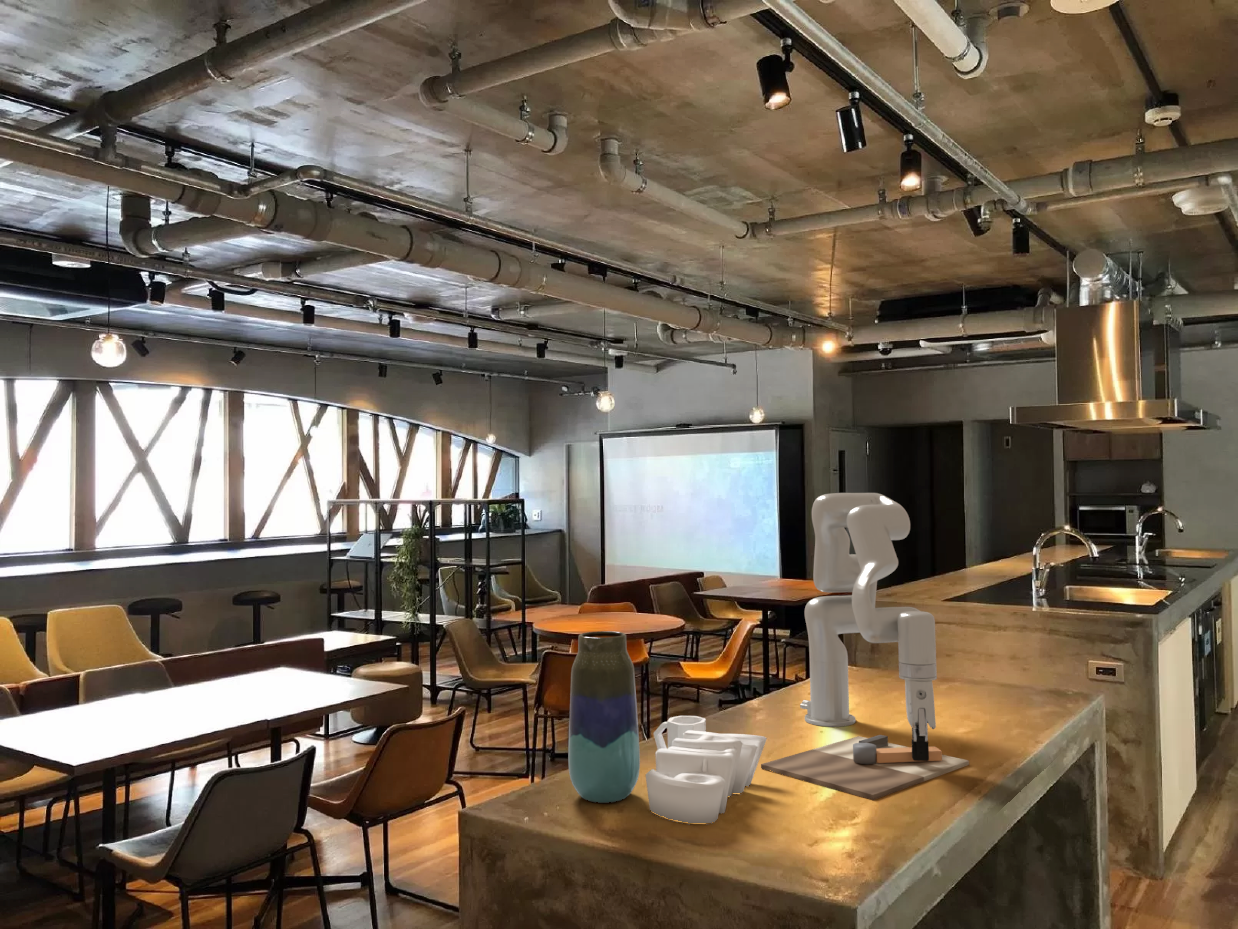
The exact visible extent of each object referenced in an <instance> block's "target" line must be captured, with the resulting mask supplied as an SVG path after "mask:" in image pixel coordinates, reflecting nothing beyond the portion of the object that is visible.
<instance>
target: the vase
mask: <svg viewBox="0 0 1238 929" xmlns="http://www.w3.org/2000/svg"><path fill="white" fill-rule="evenodd" d="M577 642H578V643H577V644H578V647H577V649H578V650H577V654H576V656H575V658H574V661H573V663H572V666H571V672H570V693H569V695H570V696H569V722H568V724H569V725H568V750H567V751H568V753H567V754H568V757H567V758H568V772H569V773H568V774H569V778H570V782H571V784H572V786H573V787H574V789H575V791H576V792H577V794H578V795H579V796H580V797H581V798H582V799H583V800H585V801H587V800H588V801H589V802H590V803H591V802H593V803H596V802H598V804H607V803H608V804H609V802H611V803H616V801H617V802H620V801H622V799H623V800H624V799H626V798H628V797H629V796H630V795H631V793H632V792H633V791H634V789H635V786H636V785H637V782H638V781H639V776H640V768H641V767H640V766H641V765H640V764H641V759H640V758H641V757H640V756H641V752H640V736H639V735H640V734H639V720H638V717H639V716H638V707H637V706H638V705H637V704H638V703H637V692H636V678H635V677H636V676H635V666H634V663H633V661H632V659H631V656H630V655H629V652H628V650H627V647H628V646H627V634H625V633H624V632H621V631H612V630H607V631H606V630H602V631H601V630H599V631H588V632H584V633H580V634H579V635H578V640H577Z"/></svg>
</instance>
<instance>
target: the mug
mask: <svg viewBox="0 0 1238 929" xmlns="http://www.w3.org/2000/svg"><path fill="white" fill-rule="evenodd" d="M706 725H707V719H706V718H705V717H701V716H697V715H678V716H677V715H676V716H673V717H672V716H671V717H669V718H668V720H667V721H664V722H661V724H660V725H659V726H658V727H657V728H656V730H654V732H653V738H654V741H655V744H656V750H659V749H661V748H663V749H667V748H669V747H671V746H672V741H673V740H674V739H675V738H681V739H683V733H685V732H686V731H688V730H692V731H704V732H707V731H706V730H707V726H706ZM665 729H667V745H666V742H665V739H664V737H663V732H664V731H665Z"/></svg>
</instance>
